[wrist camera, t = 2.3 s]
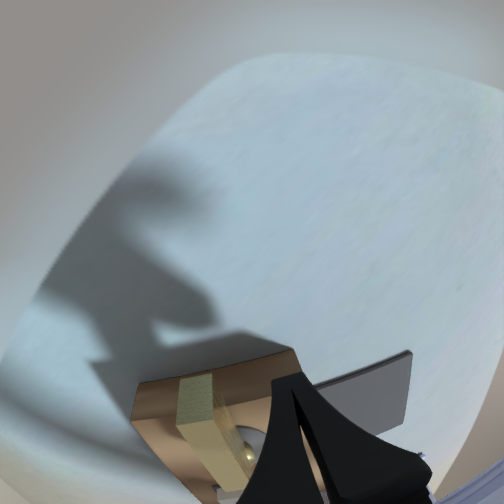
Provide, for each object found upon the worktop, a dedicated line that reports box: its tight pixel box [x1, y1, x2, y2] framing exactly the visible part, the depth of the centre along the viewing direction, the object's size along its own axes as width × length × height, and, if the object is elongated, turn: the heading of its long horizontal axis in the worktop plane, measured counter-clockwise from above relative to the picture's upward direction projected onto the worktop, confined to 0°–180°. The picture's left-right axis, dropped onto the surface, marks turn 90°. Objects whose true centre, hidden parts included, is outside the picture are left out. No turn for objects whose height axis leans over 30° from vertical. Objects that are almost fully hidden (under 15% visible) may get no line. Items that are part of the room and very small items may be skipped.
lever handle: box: [176, 373, 255, 492], centre depth 12 cm, size 7×2×3 cm, turn 13°
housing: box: [130, 349, 326, 504], centre depth 17 cm, size 13×9×3 cm
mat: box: [315, 351, 413, 436], centre depth 18 cm, size 8×7×1 cm
